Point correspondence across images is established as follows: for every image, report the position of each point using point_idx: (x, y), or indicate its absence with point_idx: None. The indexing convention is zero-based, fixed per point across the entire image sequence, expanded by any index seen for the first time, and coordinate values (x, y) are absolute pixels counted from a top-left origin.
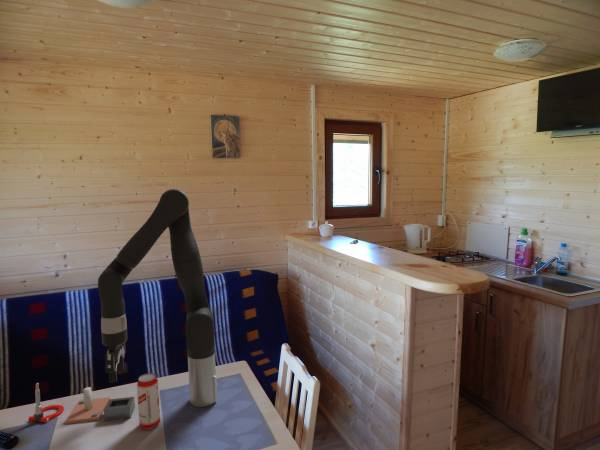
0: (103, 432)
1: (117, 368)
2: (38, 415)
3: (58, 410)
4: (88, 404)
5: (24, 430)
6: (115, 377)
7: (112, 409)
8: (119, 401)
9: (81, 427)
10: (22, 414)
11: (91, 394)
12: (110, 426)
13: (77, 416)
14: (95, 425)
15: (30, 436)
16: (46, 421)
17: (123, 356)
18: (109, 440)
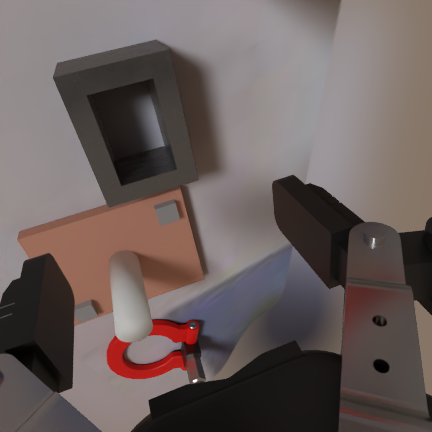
0: (256, 116)
1: (71, 299)
2: (200, 354)
3: None
4: (139, 270)
5: (226, 338)
6: (311, 197)
7: (189, 141)
8: (107, 149)
9: (221, 214)
10: (158, 392)
11: (124, 295)
12: (219, 109)
13: (177, 263)
14: (211, 174)
15: (252, 309)
16: (197, 323)
17: (5, 375)
18: (308, 61)
